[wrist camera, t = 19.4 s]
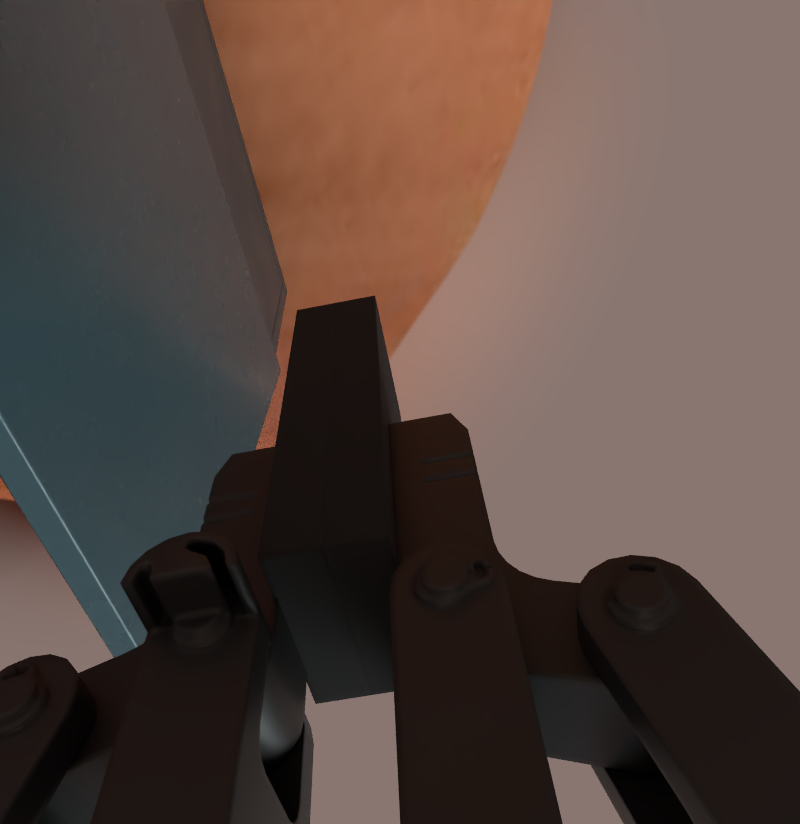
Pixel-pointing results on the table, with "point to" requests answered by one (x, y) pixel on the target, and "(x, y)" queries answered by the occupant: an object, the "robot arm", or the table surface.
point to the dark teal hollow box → (229, 155)
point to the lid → (116, 296)
